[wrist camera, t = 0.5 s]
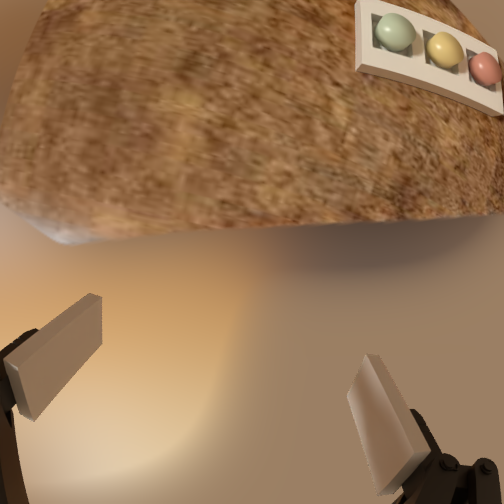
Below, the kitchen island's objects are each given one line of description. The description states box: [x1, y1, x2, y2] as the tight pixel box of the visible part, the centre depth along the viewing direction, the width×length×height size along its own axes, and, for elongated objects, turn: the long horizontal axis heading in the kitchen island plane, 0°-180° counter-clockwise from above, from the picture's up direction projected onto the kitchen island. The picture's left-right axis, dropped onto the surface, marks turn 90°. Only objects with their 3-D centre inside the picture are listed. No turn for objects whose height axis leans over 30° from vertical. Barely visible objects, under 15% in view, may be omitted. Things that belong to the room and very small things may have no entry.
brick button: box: [468, 52, 502, 86], centre depth 28 cm, size 5×5×3 cm
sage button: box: [374, 13, 416, 52], centre depth 28 cm, size 5×5×3 cm
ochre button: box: [426, 32, 464, 69], centre depth 28 cm, size 5×5×3 cm
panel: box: [355, 0, 504, 117], centre depth 31 cm, size 12×25×3 cm, turn 85°
